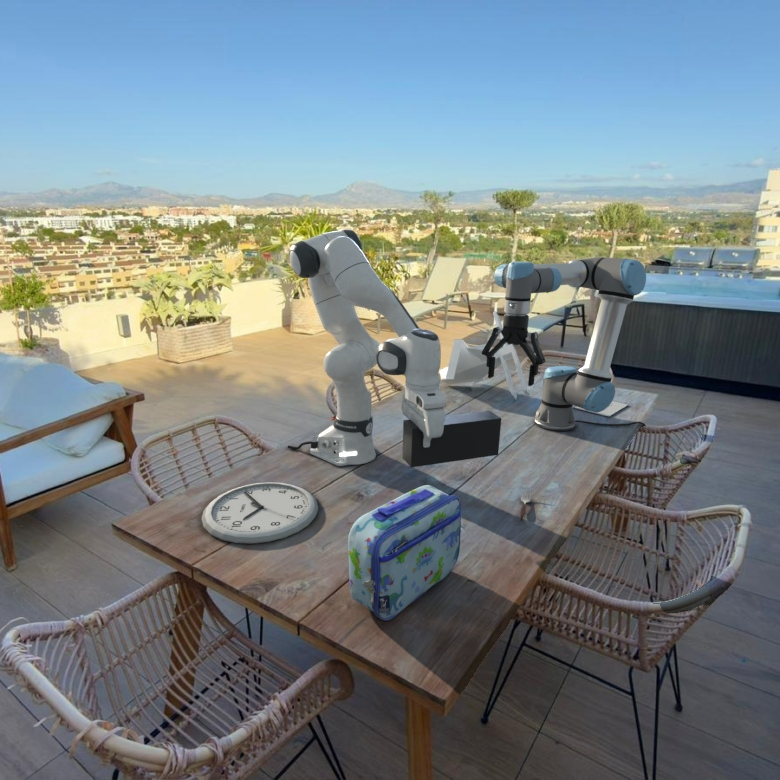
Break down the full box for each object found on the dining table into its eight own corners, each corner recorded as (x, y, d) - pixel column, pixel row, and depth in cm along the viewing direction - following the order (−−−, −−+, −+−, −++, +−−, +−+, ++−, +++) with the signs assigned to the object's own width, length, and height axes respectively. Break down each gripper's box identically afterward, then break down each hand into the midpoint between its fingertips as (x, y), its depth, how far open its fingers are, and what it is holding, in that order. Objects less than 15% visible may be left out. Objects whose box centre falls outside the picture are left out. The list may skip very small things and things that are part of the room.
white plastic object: (461, 429, 252) (437, 405, 227) (444, 352, 274) (420, 323, 250) (535, 404, 240) (518, 377, 215) (510, 326, 262) (492, 293, 237)
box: (486, 446, 153) (489, 410, 150) (498, 455, 147) (501, 418, 144) (402, 457, 144) (403, 420, 141) (411, 467, 138) (412, 428, 135)
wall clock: (315, 535, 126) (186, 539, 123) (315, 541, 126) (187, 545, 123) (320, 478, 154) (216, 480, 152) (320, 483, 155) (216, 485, 152)
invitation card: (608, 416, 214) (573, 407, 224) (608, 416, 214) (573, 408, 224) (628, 404, 229) (594, 396, 238) (628, 405, 229) (594, 397, 238)
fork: (515, 521, 136) (516, 514, 135) (522, 493, 150) (523, 487, 150) (525, 523, 135) (526, 516, 135) (531, 495, 150) (532, 489, 149)
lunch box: (378, 635, 98) (379, 537, 91) (341, 606, 105) (340, 513, 99) (464, 574, 115) (470, 488, 109) (427, 553, 122) (431, 471, 116)
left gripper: (396, 381, 145) (395, 428, 149) (426, 405, 127) (424, 457, 131) (417, 380, 147) (415, 426, 151) (449, 402, 129) (446, 454, 133)
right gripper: (474, 311, 163) (469, 376, 169) (552, 320, 149) (544, 391, 155) (485, 308, 169) (480, 371, 175) (561, 317, 155) (553, 385, 161)
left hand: (420, 440), depth 141 cm, fingers closed on box, 6 cm apart
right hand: (510, 381), depth 165 cm, fingers open, 13 cm apart
